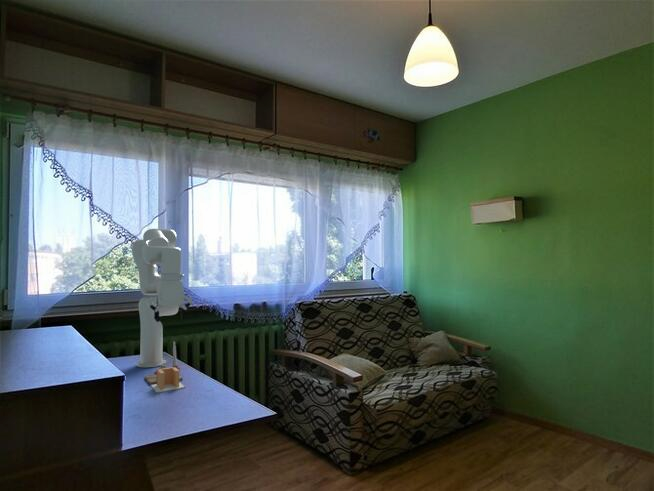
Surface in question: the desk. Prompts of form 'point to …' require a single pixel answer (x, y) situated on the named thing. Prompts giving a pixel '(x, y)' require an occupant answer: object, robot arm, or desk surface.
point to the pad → (167, 387)
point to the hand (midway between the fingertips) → (170, 320)
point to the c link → (167, 377)
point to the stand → (153, 378)
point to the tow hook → (173, 358)
